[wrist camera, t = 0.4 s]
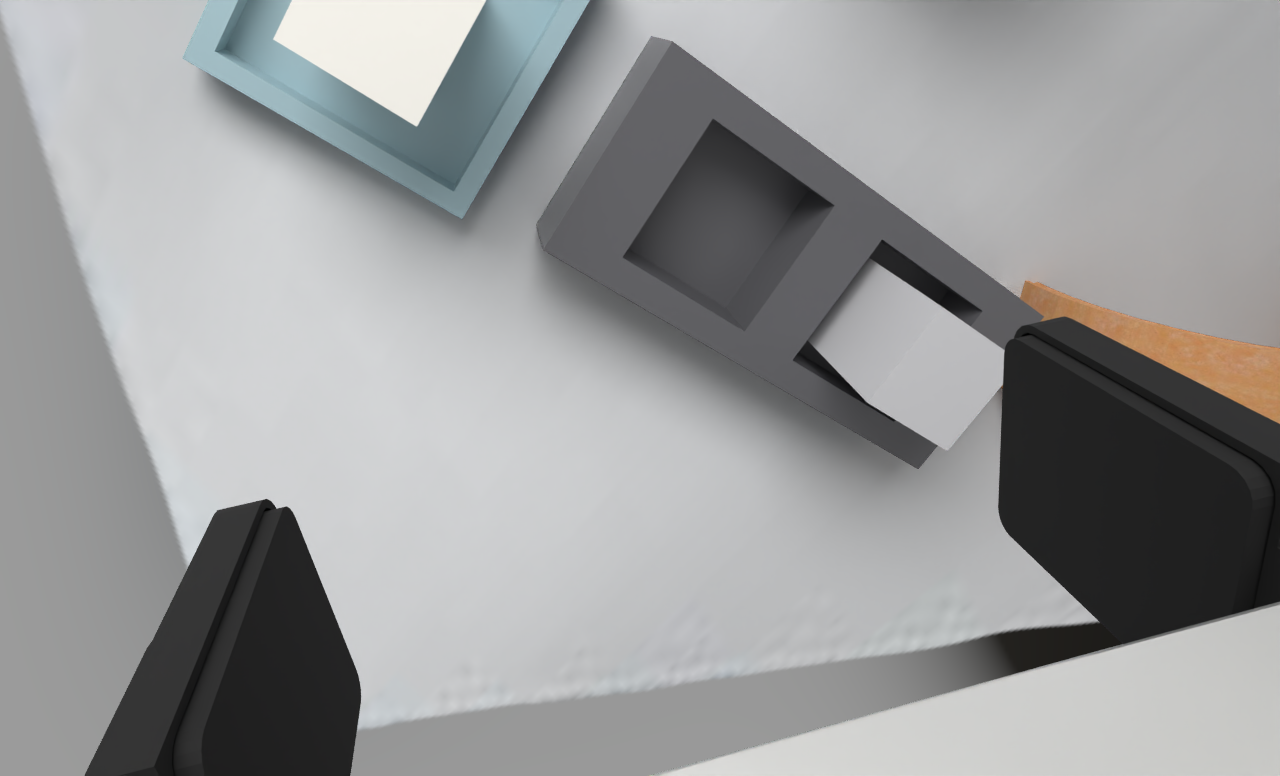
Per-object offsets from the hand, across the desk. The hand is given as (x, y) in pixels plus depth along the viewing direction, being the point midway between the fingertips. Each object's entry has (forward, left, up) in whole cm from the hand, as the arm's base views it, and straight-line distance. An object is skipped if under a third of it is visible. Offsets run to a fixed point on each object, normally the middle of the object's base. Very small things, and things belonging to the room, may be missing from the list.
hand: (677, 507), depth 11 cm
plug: (-2, -7, -27) cm, 27 cm away
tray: (-2, -7, -27) cm, 28 cm away
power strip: (-2, +12, -27) cm, 30 cm away
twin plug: (-2, +17, -26) cm, 31 cm away
